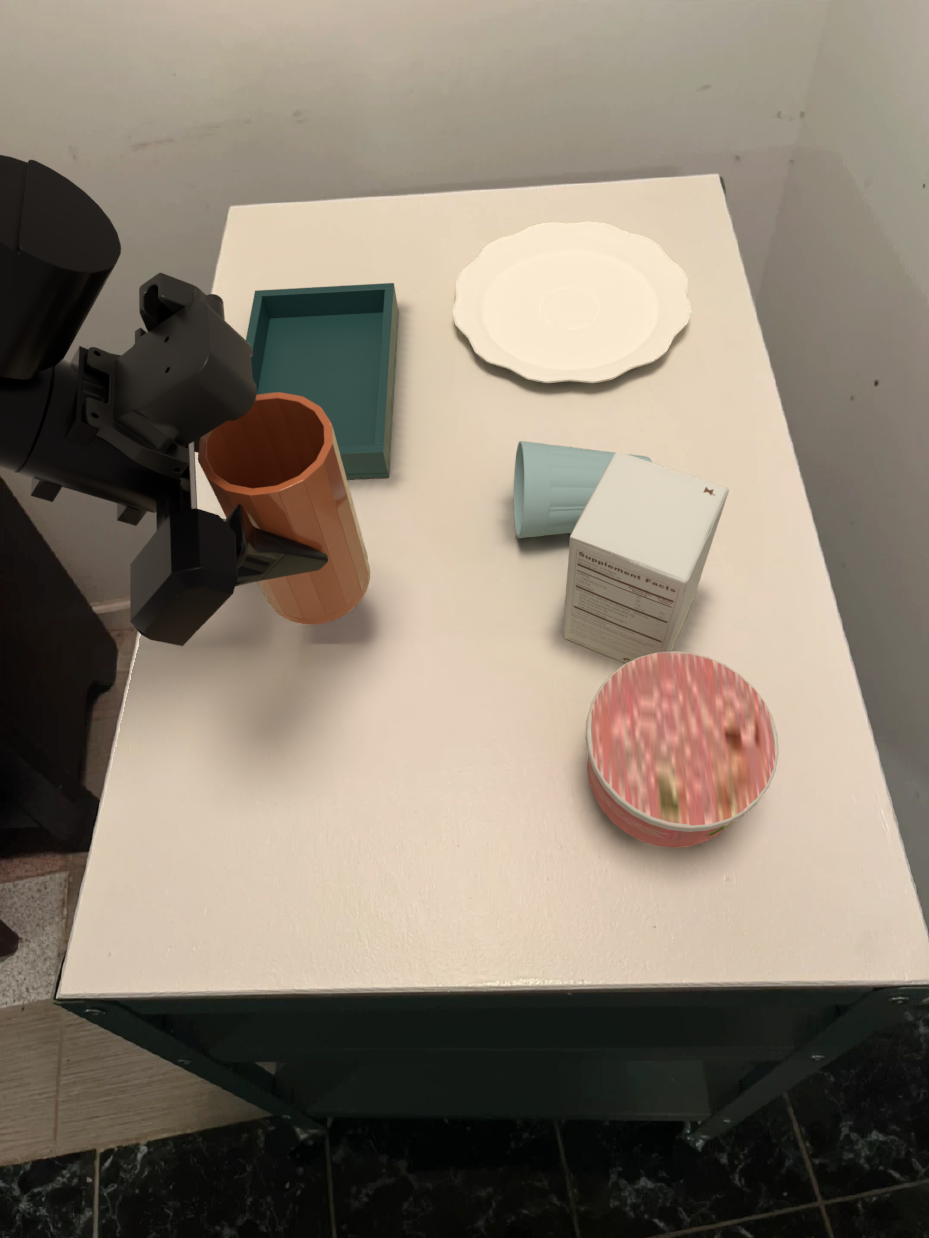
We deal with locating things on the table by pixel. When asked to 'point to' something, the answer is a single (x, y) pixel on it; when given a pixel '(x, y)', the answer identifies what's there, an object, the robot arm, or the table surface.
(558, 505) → the cup
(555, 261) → the plate
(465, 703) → the table surface
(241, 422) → the tumbler
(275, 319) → the tray
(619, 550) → the white packaging box
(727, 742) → the container
